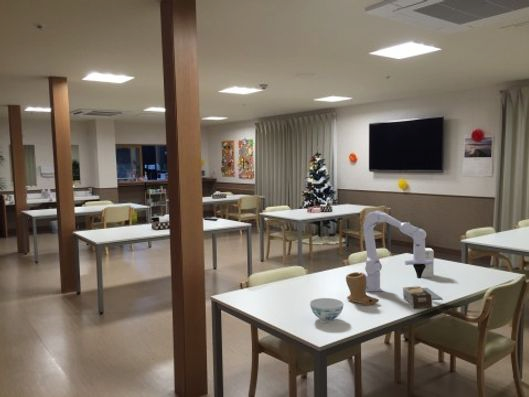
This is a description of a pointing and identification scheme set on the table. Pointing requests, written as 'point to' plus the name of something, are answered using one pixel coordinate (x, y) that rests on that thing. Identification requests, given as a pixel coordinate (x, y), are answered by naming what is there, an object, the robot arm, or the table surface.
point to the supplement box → (429, 267)
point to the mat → (432, 294)
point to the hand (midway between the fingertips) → (419, 278)
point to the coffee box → (417, 297)
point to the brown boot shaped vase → (359, 289)
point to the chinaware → (326, 308)
